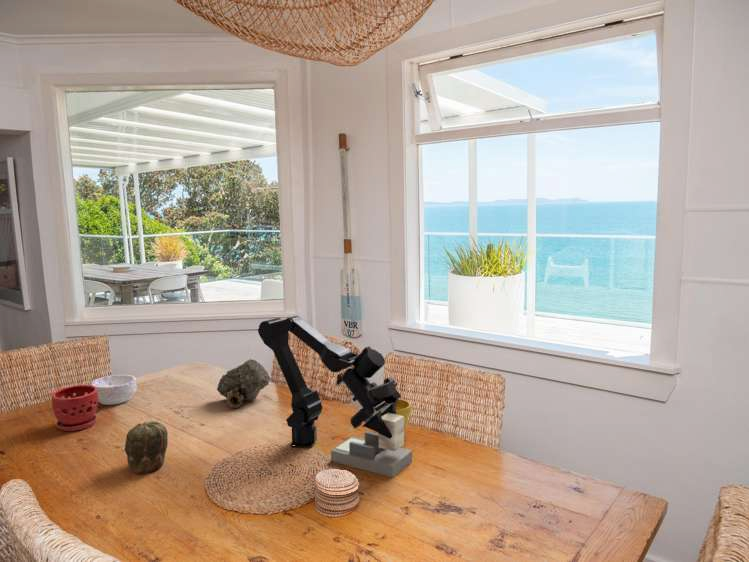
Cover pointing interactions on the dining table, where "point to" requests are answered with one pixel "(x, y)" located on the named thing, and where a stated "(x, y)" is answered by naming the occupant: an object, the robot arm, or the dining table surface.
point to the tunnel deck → (371, 455)
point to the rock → (243, 383)
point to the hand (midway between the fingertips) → (396, 434)
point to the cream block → (393, 432)
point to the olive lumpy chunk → (146, 447)
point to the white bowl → (115, 388)
